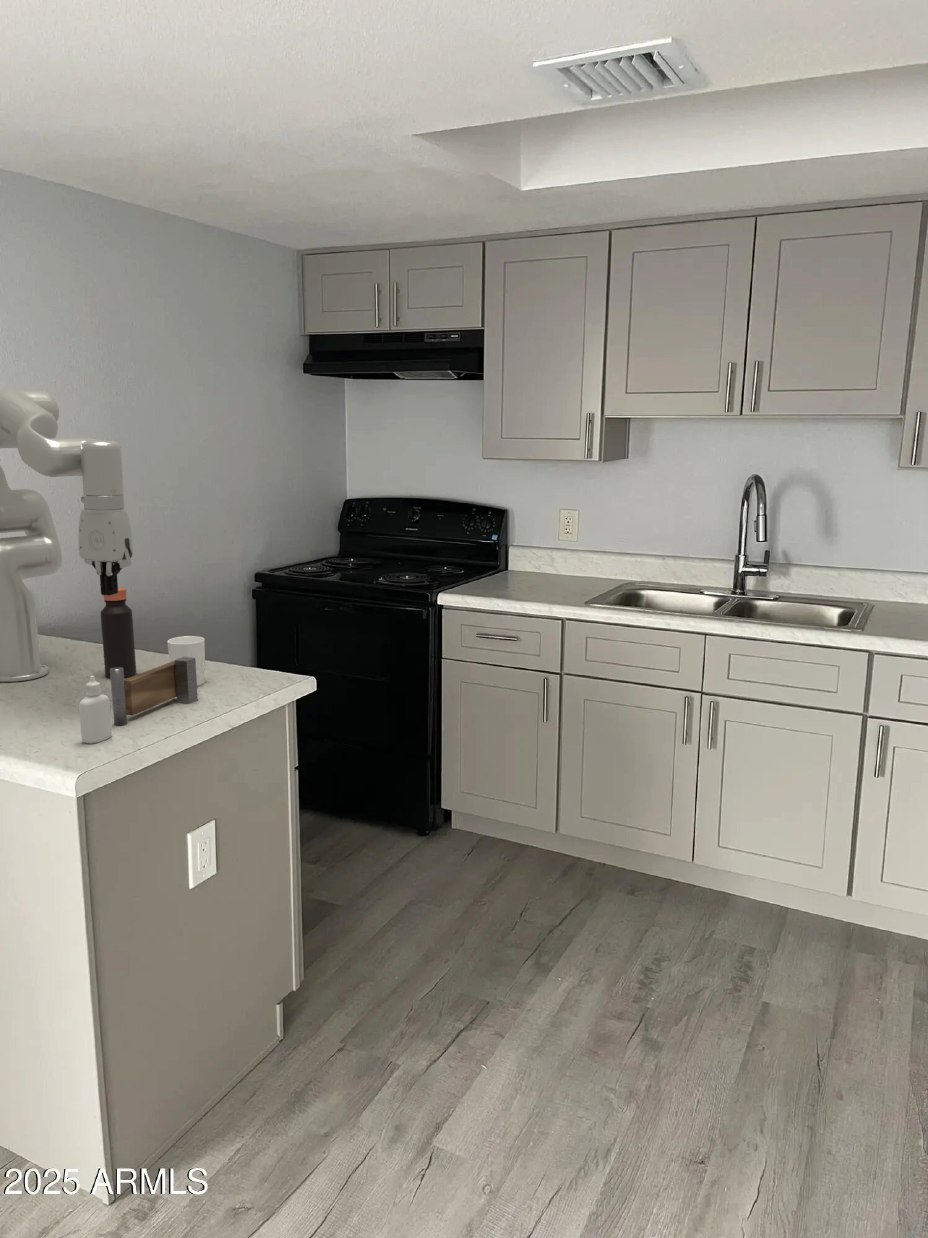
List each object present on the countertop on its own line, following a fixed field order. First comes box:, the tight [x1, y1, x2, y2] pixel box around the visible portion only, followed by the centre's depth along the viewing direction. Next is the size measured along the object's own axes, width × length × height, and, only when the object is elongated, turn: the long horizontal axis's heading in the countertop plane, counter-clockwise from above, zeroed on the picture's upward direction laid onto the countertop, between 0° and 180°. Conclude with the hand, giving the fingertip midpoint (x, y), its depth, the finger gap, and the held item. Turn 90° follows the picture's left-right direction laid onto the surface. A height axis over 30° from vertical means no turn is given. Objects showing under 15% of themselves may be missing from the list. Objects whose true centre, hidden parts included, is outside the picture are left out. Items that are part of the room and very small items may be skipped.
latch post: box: [174, 657, 199, 704], centre depth 200 cm, size 3×3×9 cm
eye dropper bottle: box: [78, 675, 113, 744], centre depth 176 cm, size 4×6×12 cm
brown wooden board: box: [124, 661, 177, 716], centre depth 195 cm, size 2×16×7 cm, turn 160°
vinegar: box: [100, 587, 137, 679], centre depth 219 cm, size 7×7×20 cm
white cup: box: [166, 635, 206, 687], centre depth 213 cm, size 8×8×10 cm
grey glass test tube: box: [110, 667, 128, 727], centre depth 185 cm, size 2×2×11 cm
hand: (109, 593), depth 196 cm, fingers closed
